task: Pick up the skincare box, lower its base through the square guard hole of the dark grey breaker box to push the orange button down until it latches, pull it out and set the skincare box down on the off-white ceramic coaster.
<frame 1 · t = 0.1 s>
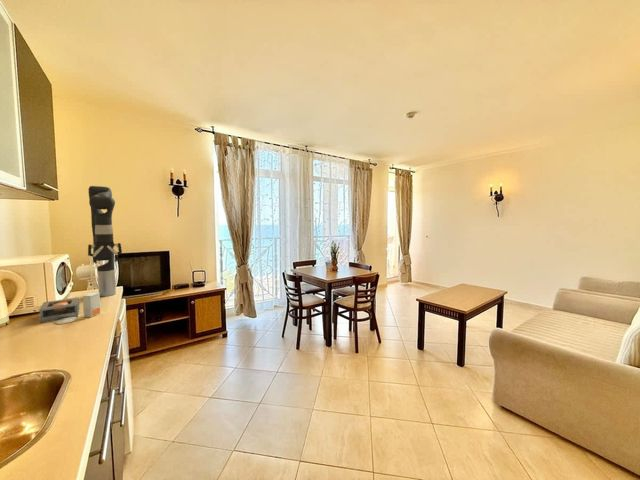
hand: (105, 262, 143), 29 cm above the countertop, fingers open, 8 cm apart
coaster: (66, 321, 134), on the countertop
skincare box: (92, 315, 142), on the countertop
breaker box: (61, 315, 142), on the countertop
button: (60, 306, 141), point 5 cm above the countertop, slide at 0.0 cm
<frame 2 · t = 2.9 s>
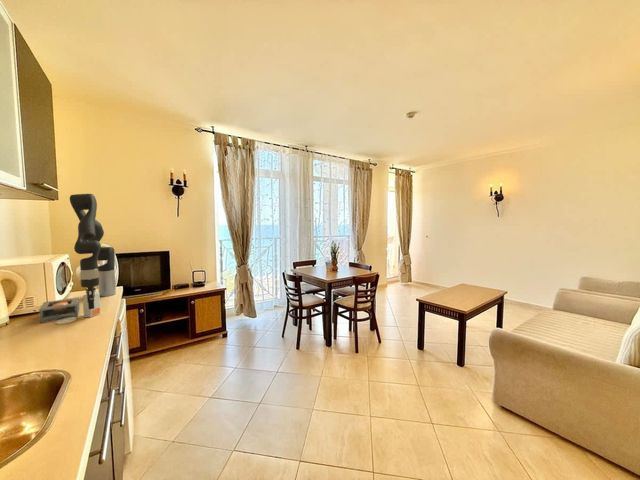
hand: (91, 306, 142), 5 cm above the countertop, fingers closed on skincare box, 7 cm apart
skincare box: (92, 315, 142), on the countertop, touching gripper
everything else where it was.
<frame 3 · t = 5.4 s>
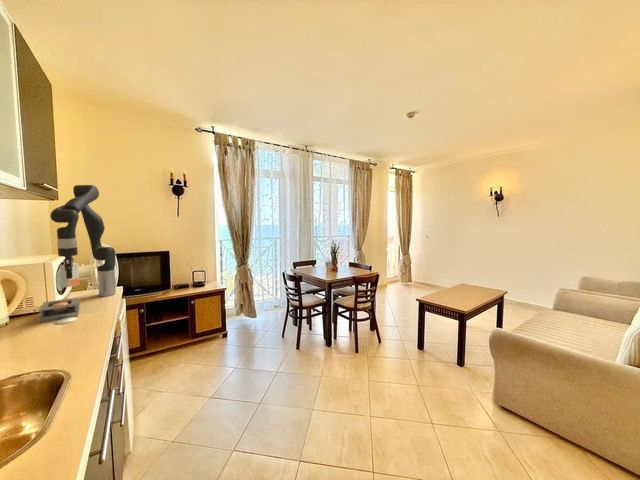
hand: (69, 277, 140), 21 cm above the countertop, fingers closed on skincare box, 7 cm apart
skincare box: (70, 286, 141), point 16 cm above the countertop, touching gripper
everything else where it was.
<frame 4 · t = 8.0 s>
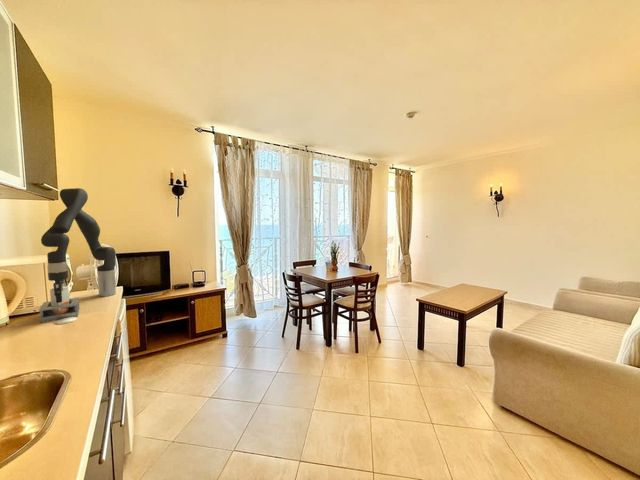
hand: (60, 300, 141), 8 cm above the countertop, fingers closed on skincare box, 7 cm apart
skincare box: (60, 309, 141), point 3 cm above the countertop, touching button, gripper
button: (60, 311, 141), point 2 cm above the countertop, slide at 3.0 cm, touching skincare box
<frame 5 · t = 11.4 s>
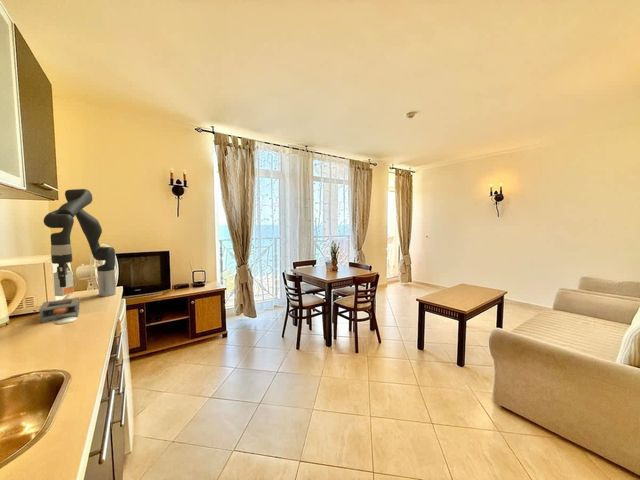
hand: (64, 285, 133), 19 cm above the countertop, fingers closed on skincare box, 7 cm apart
skincare box: (64, 294, 133), point 14 cm above the countertop, touching gripper
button: (60, 311, 141), point 2 cm above the countertop, slide at 3.0 cm
when the fingers open (6 cm above the countertop, at t = 14.1 s): skincare box stays where it is, resting on coaster.
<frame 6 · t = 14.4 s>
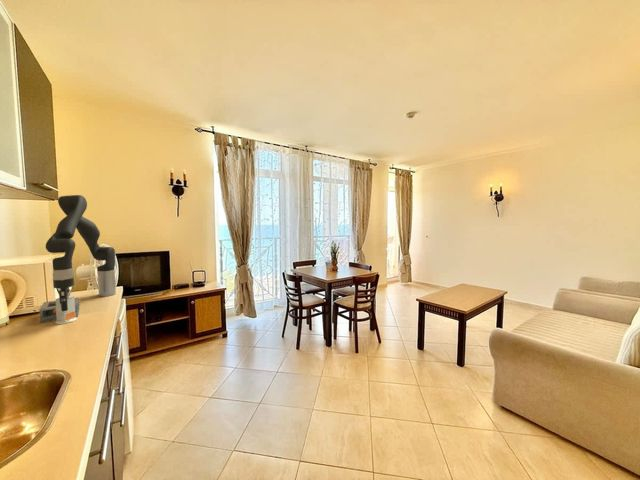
hand: (65, 308, 134), 7 cm above the countertop, fingers open, 8 cm apart
skincare box: (66, 320, 135), resting on coaster
everything else where it was.
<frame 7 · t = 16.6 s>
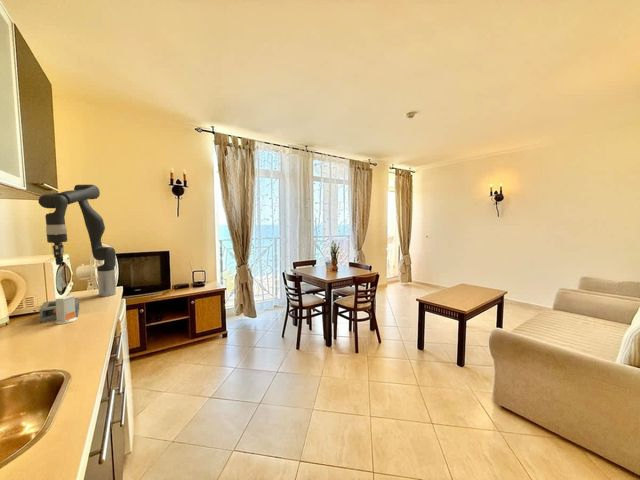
hand: (59, 263, 138), 29 cm above the countertop, fingers open, 8 cm apart
nothing on the countertop moved.
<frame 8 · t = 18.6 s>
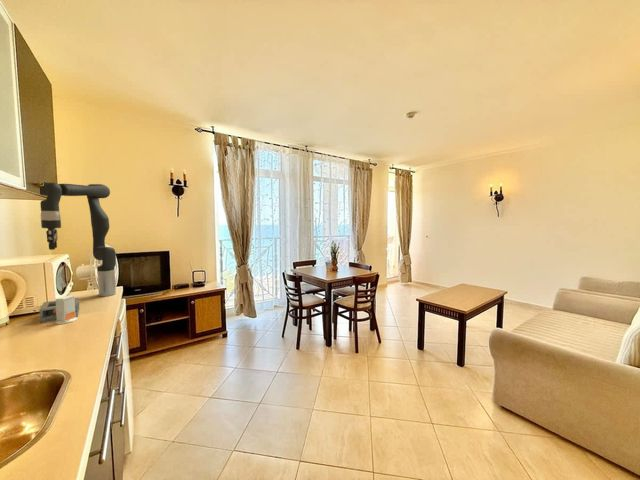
hand: (53, 248, 143), 36 cm above the countertop, fingers open, 8 cm apart
nothing on the countertop moved.
at the end: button slide at 3.0 cm; skincare box inside the target area on the coaster (0.2 cm from its centre), point 0.4 cm above the coaster's base; skincare box tilted 0° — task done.
